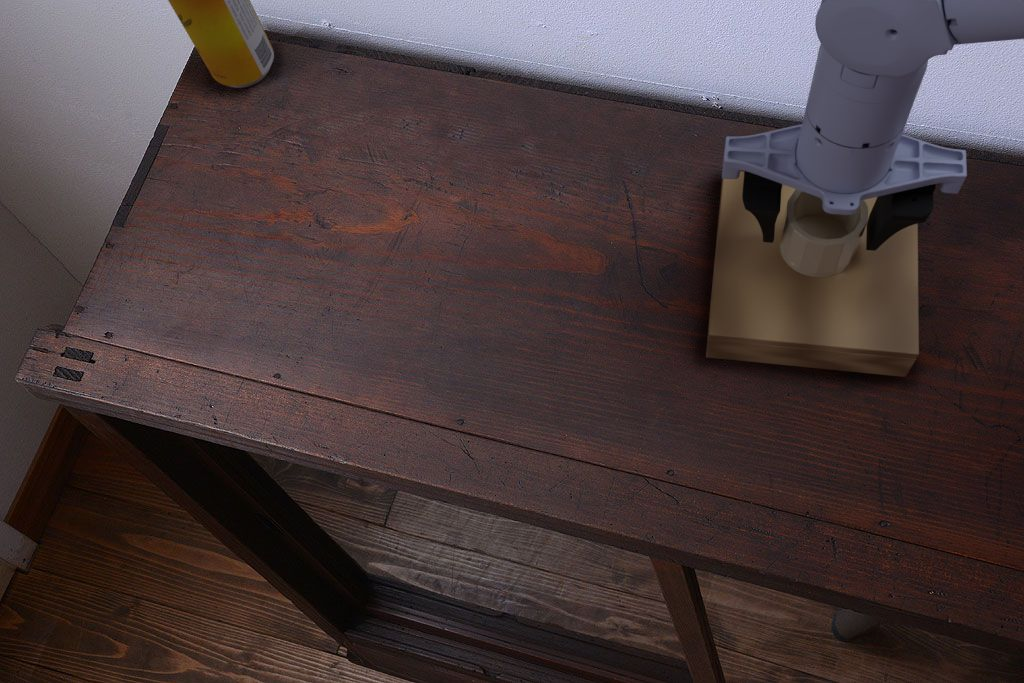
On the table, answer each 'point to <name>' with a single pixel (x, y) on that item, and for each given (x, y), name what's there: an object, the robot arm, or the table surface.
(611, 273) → the table surface
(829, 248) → the ramekin
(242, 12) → the beer can
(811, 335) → the square wooden board
